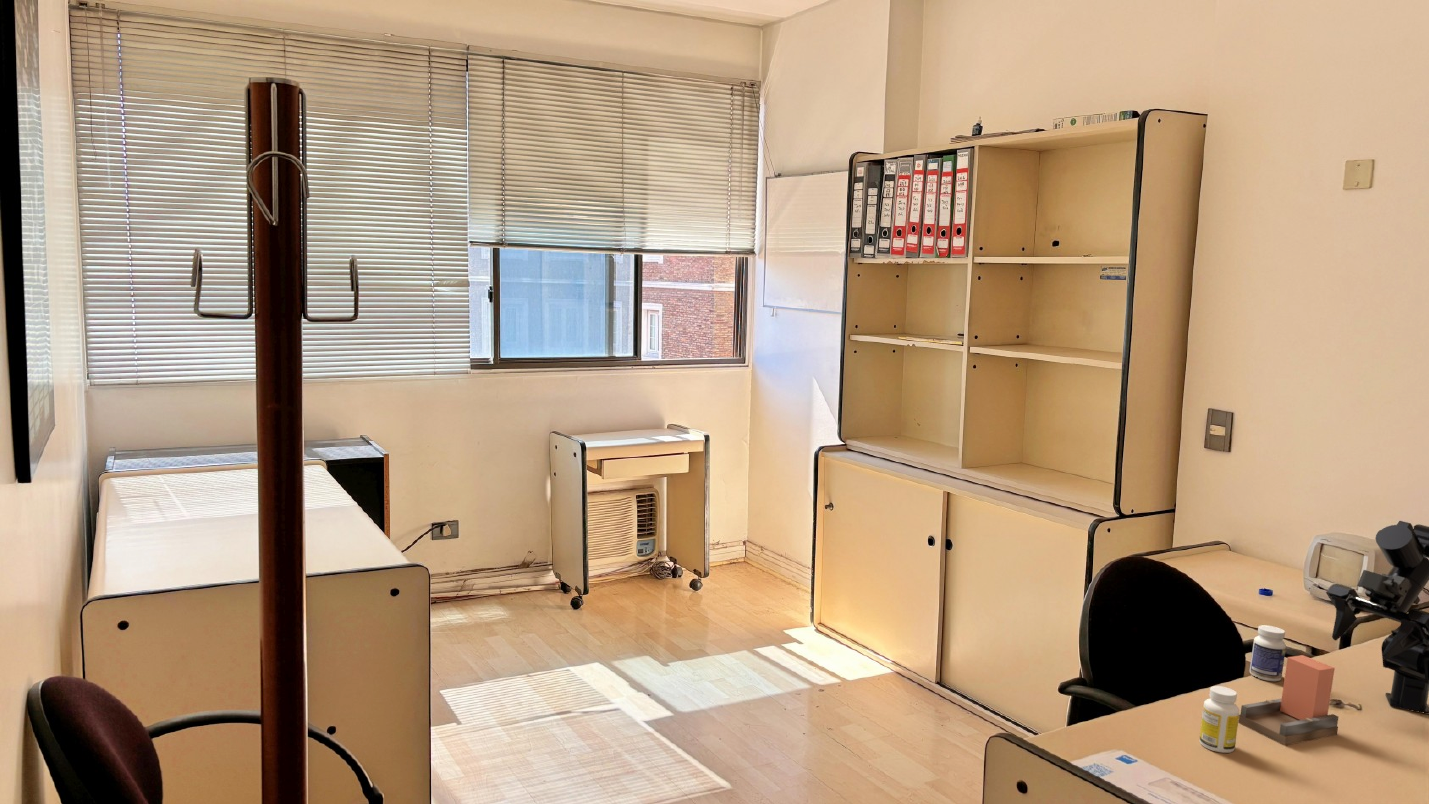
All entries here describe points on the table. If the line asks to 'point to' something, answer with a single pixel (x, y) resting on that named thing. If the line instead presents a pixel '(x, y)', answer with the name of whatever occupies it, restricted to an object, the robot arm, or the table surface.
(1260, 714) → the rail housing
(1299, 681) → the pink upright rectangular block
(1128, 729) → the table surface
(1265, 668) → the pill bottle
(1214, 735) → the supplement bottle
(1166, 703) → the table surface
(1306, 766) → the table surface
